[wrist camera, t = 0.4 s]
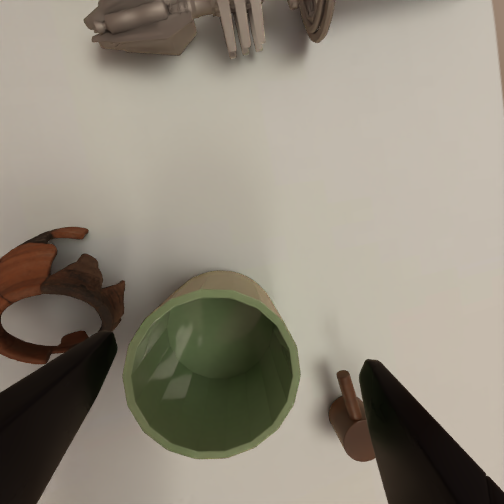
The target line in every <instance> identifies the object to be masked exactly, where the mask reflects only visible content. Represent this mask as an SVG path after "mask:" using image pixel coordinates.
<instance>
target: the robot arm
mask: <svg viewBox="0 0 504 504" xmlns="http://www.w3.org/2000/svg"><path fill="white" fill-rule="evenodd" d="M116 353H117V343H116V340H115V336H114V333H113V332H112V331H105V330H101V331H98V332H97V333H95V334H93V335H92V336H90V337H89V338H87V339H85V340H84V341H82V342H81V343H79V344H77V345H76V346H74V347H73V348H71V349H70V350H68V351H66V352H65V353H63V354H62V355H60V356H58V357H57V358H55V359H54V360H52V361H50V362H49V363H47V364H46V365H44V366H42V367H41V368H39V369H38V370H36V371H34V372H33V373H31V374H30V375H28V376H26V377H25V378H23V379H22V380H20V381H18V382H17V383H15V384H14V385H12V386H10V387H9V388H7V389H6V390H4V391H2V392H1V393H0V504H37V502H38V500H39V499H40V497H41V495H42V493H43V492H44V490H45V488H46V486H47V484H48V483H49V481H50V479H51V477H52V476H53V474H54V472H55V470H56V468H57V467H58V465H59V463H60V461H61V460H62V458H63V456H64V454H65V453H66V451H67V449H68V447H69V445H70V444H71V442H72V440H73V438H74V437H75V435H76V433H77V431H78V430H79V428H80V426H81V424H82V422H83V421H84V419H85V417H86V415H87V414H88V412H89V410H90V408H91V406H92V405H93V403H94V401H95V399H96V397H97V395H98V393H99V391H100V389H101V387H102V385H103V382H104V380H105V378H106V376H107V373H108V371H109V369H110V367H111V364H112V362H113V360H114V358H115V355H116ZM359 382H360V388H361V393H362V399H363V405H364V411H365V416H366V422H367V427H368V431H369V435H370V439H371V443H372V446H373V450H374V453H375V457H376V461H377V464H378V468H379V472H380V475H381V479H382V482H383V486H384V490H385V493H386V497H387V500H388V504H504V492H503V491H502V490H501V489H500V488H499V487H498V486H497V485H496V483H495V482H494V481H493V480H492V479H491V478H490V477H489V476H486V473H485V472H484V471H483V470H482V469H481V468H480V467H479V466H478V465H477V464H476V462H475V461H474V460H473V459H472V458H471V457H470V456H469V455H468V454H467V453H466V452H465V451H464V450H463V449H462V448H461V447H460V446H459V444H458V443H457V442H456V441H455V440H454V439H453V438H452V437H451V436H450V435H449V434H448V433H447V432H446V431H445V430H444V429H443V428H442V426H441V425H440V424H439V423H438V422H437V421H436V420H435V419H434V418H433V417H432V416H431V415H430V414H429V413H428V412H427V411H426V410H425V408H424V407H423V406H422V405H421V404H420V403H419V402H418V401H417V400H416V399H415V398H414V397H413V396H412V395H411V394H410V393H409V392H408V390H407V389H406V388H405V387H404V386H403V385H402V384H401V383H400V382H399V381H398V380H397V379H396V378H395V377H394V376H393V375H392V374H391V373H390V371H389V370H388V369H387V368H386V367H385V366H384V365H383V364H382V363H381V362H380V361H378V360H371V359H367V360H365V362H364V365H363V367H362V369H361V372H360V374H359Z"/></svg>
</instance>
